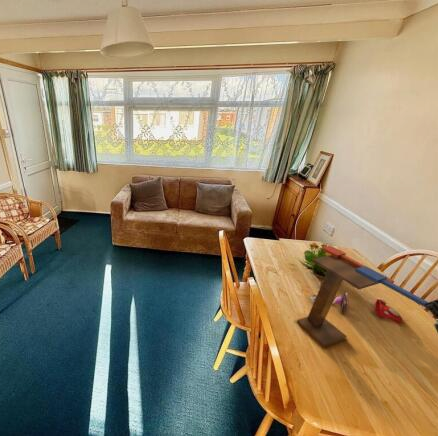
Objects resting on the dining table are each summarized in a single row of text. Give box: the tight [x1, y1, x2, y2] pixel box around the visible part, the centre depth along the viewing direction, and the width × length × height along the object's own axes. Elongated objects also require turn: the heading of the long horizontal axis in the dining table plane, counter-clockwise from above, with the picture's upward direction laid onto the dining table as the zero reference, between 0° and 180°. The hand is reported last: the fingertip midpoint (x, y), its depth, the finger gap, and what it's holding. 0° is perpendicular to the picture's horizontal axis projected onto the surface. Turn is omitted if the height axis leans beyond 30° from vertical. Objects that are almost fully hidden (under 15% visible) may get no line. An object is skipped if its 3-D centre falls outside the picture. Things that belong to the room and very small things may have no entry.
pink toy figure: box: [332, 290, 349, 315], centre depth 106 cm, size 7×5×9 cm
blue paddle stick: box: [355, 265, 429, 309], centre depth 64 cm, size 22×4×1 cm, turn 17°
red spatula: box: [321, 245, 395, 284], centre depth 83 cm, size 22×4×1 cm, turn 17°
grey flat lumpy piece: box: [309, 294, 317, 304], centre depth 109 cm, size 7×8×2 cm
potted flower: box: [298, 242, 342, 280], centre depth 123 cm, size 25×24×18 cm
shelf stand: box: [296, 255, 381, 348], centre depth 88 cm, size 16×14×32 cm
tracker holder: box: [373, 297, 404, 324], centre depth 102 cm, size 12×4×10 cm
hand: (431, 301), depth 59 cm, fingers closed on blue paddle stick, 1 cm apart
